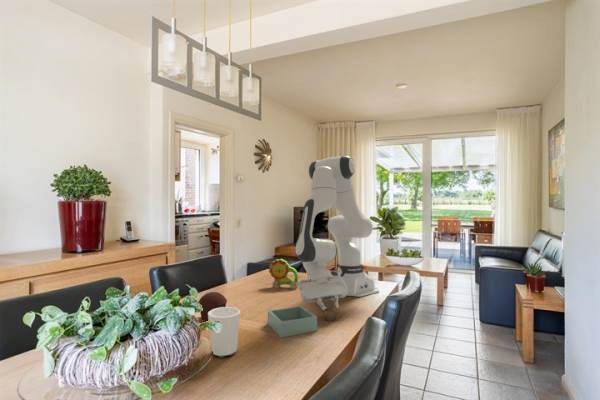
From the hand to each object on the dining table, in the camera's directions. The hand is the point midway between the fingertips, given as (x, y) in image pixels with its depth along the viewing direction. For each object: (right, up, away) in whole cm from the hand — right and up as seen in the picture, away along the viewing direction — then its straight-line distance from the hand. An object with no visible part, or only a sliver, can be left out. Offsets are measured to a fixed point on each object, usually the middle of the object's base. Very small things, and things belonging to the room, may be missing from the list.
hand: (331, 308), depth 130 cm
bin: (-15, -4, -7) cm, 18 cm away
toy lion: (-21, -5, +48) cm, 53 cm away
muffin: (-47, -5, +2) cm, 48 cm away
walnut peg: (0, -4, +1) cm, 4 cm away
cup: (-36, -5, -28) cm, 45 cm away
